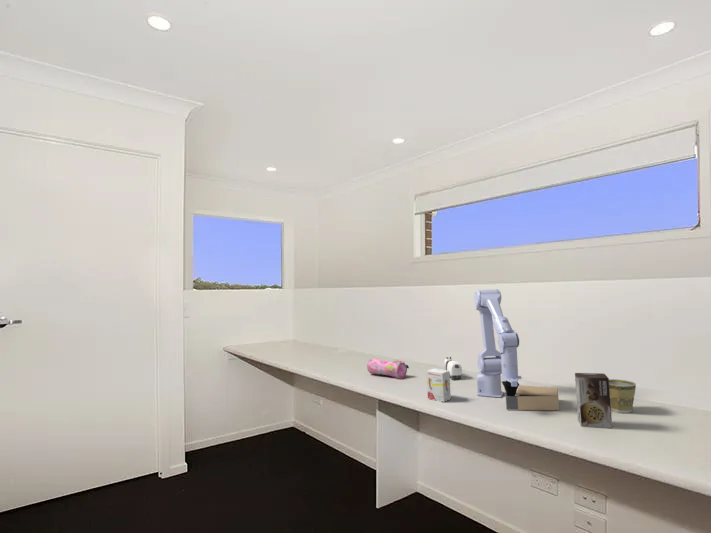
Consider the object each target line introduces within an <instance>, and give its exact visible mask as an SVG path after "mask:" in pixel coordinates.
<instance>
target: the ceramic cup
mask: <svg viewBox="0 0 711 533" xmlns="http://www.w3.org/2000/svg"><path fill="white" fill-rule="evenodd" d="M636 387H637V385H636V382H634V381H631V380H626V379H616V378H615V379H614V378H612V379H611V378H610V379H609V390H610V404H611V412H614V413H617V414H631V413H632V412H633V408H634V406H633V405H634V400H635V395H636V389H637V388H636Z"/></svg>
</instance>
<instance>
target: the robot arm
mask: <svg viewBox="0 0 711 533" xmlns="http://www.w3.org/2000/svg"><path fill="white" fill-rule="evenodd" d="M501 302H502V293H501V291H500V289H498V288H497V289H477V290H476V291H475V292H474V307H475V310H477V311H479V316H480V324H481V334H482V344H483V350H482V351H481V352H479V353H478V356H477V369H478V370H479V372H477V375H476V381H477V382H476V385H477V386H476V387H477V396H482V397H491V398H502V396H503V394H504V392H505V394H506V396H517V395H516V393H517V390H518V388H519V386H520V383H519V380H521V379H522V378H523V377H522V376H521V375H519V369H518V365H519V364H518V348H519V347H520V337H519V334H518V332H517V331H515V330H514V329H513V328H512V326H511V324H510V321H509V319H508V318H507V317H506V316H504V314H503V310H502V307H501ZM493 319H494V320H493ZM494 329H495V331H496V333H497V334H496V335H497V343H498V349H499V351H498V350H497V347H496V338H495V331H494ZM502 380H504V381H502ZM502 385H503V386H502ZM502 387H504V391H502Z"/></svg>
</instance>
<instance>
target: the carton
mask: <svg viewBox="0 0 711 533" xmlns="http://www.w3.org/2000/svg"><path fill="white" fill-rule="evenodd" d="M516 396H557V397H558V398H559V388H558V387H549V386H548V387H547V386H546V387H545V386H544V387H543V386H533V385H522V384H521V385H520V384H519V387H518V388H517V391H516Z"/></svg>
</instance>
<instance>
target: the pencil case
mask: <svg viewBox="0 0 711 533" xmlns="http://www.w3.org/2000/svg"><path fill="white" fill-rule="evenodd" d="M366 369H367V371H368V373H369V374H371V375H383V376H384V375H385V376H389V377H392V378H396V379H400V380H403V379H404V378H405V377H406V375H407V372H408V369H410V367H409V365H408V364H406V363H405V361H401V360H392V361H391V360H383V359H380V358H375V357H371V358H370V359H369V360H368V361H367V362H366Z"/></svg>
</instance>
